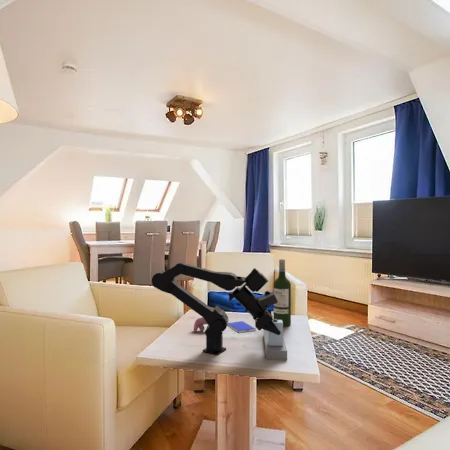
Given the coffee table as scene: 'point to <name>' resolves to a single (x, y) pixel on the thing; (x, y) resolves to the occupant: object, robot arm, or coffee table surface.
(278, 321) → the light blue rectangular block
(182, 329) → the coffee table surface
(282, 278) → the wine bottle
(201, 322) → the video game controller
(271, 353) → the power strip
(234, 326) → the hard drive
